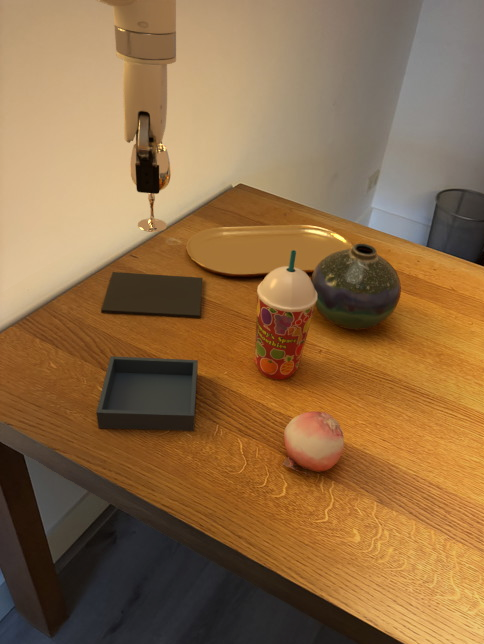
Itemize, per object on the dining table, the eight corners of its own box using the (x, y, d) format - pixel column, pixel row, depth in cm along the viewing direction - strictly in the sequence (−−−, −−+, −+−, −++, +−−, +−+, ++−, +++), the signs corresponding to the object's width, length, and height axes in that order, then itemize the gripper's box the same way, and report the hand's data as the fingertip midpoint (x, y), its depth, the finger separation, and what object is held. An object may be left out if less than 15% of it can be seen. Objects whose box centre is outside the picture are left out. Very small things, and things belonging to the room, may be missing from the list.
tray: (98, 428, 70) (96, 412, 68) (112, 371, 79) (110, 356, 77) (194, 431, 72) (194, 415, 70) (197, 375, 80) (197, 359, 78)
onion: (347, 478, 69) (359, 440, 64) (289, 488, 67) (297, 449, 62) (325, 432, 75) (335, 394, 70) (271, 440, 72) (278, 401, 68)
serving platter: (178, 235, 112) (178, 228, 111) (334, 229, 123) (335, 223, 122) (196, 284, 99) (196, 276, 98) (368, 273, 110) (370, 266, 109)
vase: (293, 295, 100) (304, 228, 91) (368, 290, 105) (385, 225, 96) (324, 347, 89) (339, 276, 80) (406, 338, 94) (429, 271, 85)
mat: (101, 312, 89) (101, 309, 89) (112, 274, 98) (112, 271, 98) (200, 318, 91) (200, 315, 91) (202, 280, 100) (202, 277, 100)
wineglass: (127, 229, 83) (122, 150, 76) (141, 214, 88) (137, 137, 80) (164, 236, 83) (162, 157, 75) (175, 221, 87) (175, 144, 80)
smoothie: (240, 375, 81) (251, 256, 68) (260, 344, 88) (275, 230, 75) (292, 393, 80) (314, 274, 67) (309, 360, 86) (332, 246, 73)
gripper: (125, 28, 75) (132, 159, 87) (104, 55, 62) (115, 205, 74) (180, 35, 76) (180, 164, 88) (170, 63, 63) (171, 210, 75)
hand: (150, 182), depth 81 cm, fingers closed on wineglass, 5 cm apart
